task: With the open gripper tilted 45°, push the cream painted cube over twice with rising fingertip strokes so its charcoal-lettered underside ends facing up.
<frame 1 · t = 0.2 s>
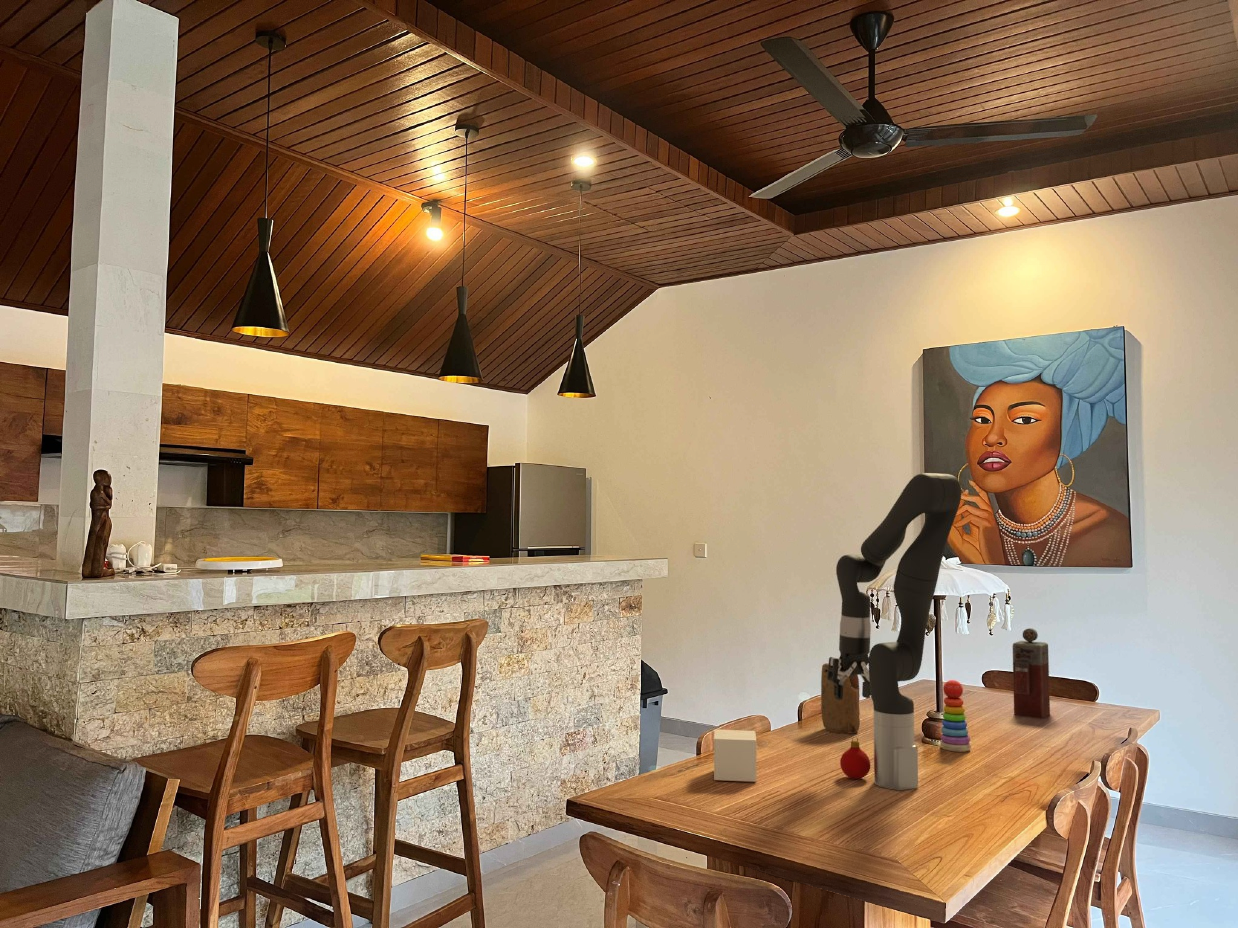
hand: (852, 698, 225), 18 cm above the table, tool pointing down, fingers open, 8 cm apart
christmas ornament: (855, 779, 216), on the table
block: (841, 731, 267), on the table
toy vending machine: (1031, 715, 293), on the table
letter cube: (735, 776, 217), on the table
stacking toy: (955, 749, 246), on the table
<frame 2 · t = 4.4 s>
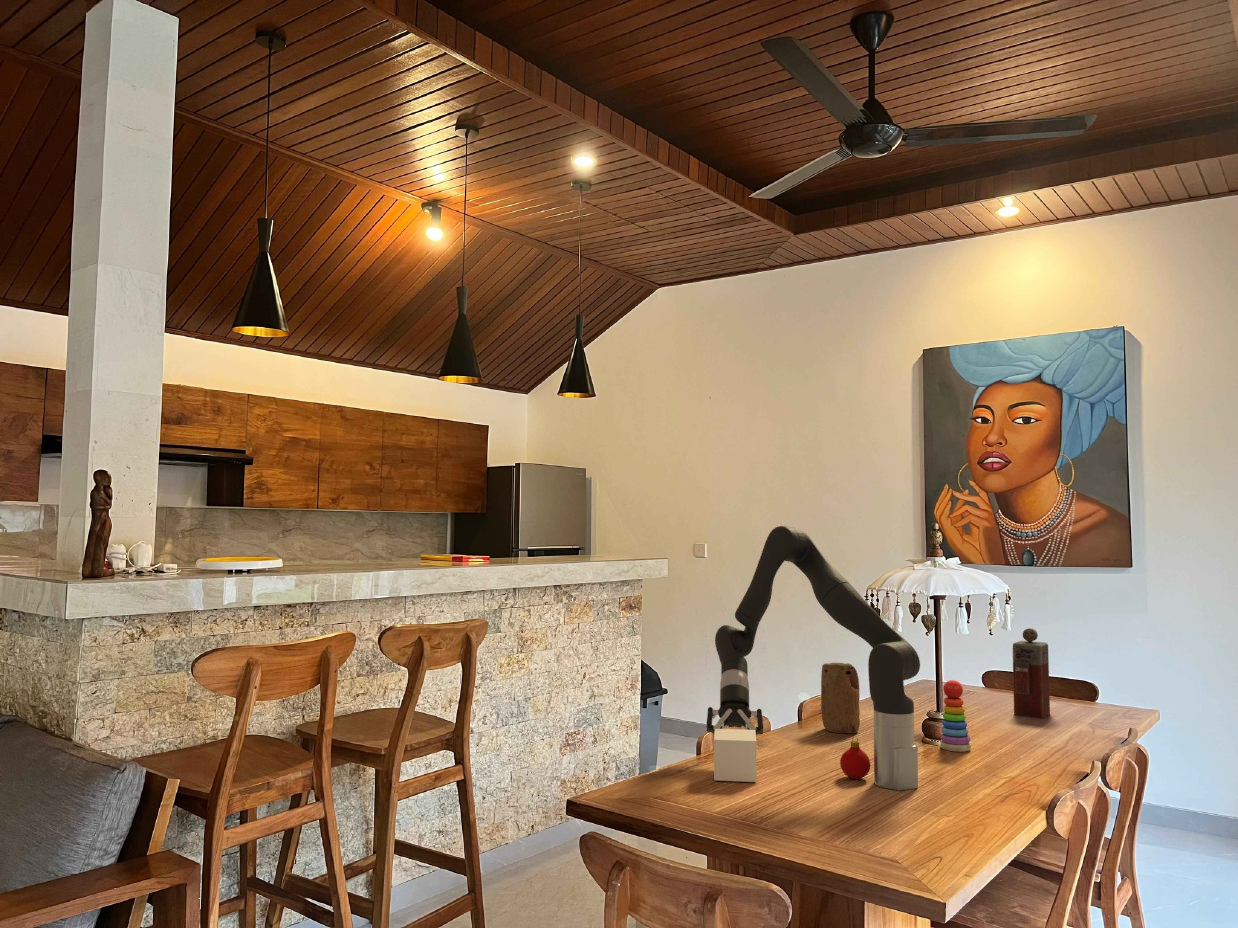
hand: (734, 746, 223), 6 cm above the table, tool tilted 45°
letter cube: (735, 776, 217), on the table, touching gripper
everything else where it was.
when the fingers open (8 cm above the table, at t = 4.9 s): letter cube stays where it is, point 1 cm above the table.
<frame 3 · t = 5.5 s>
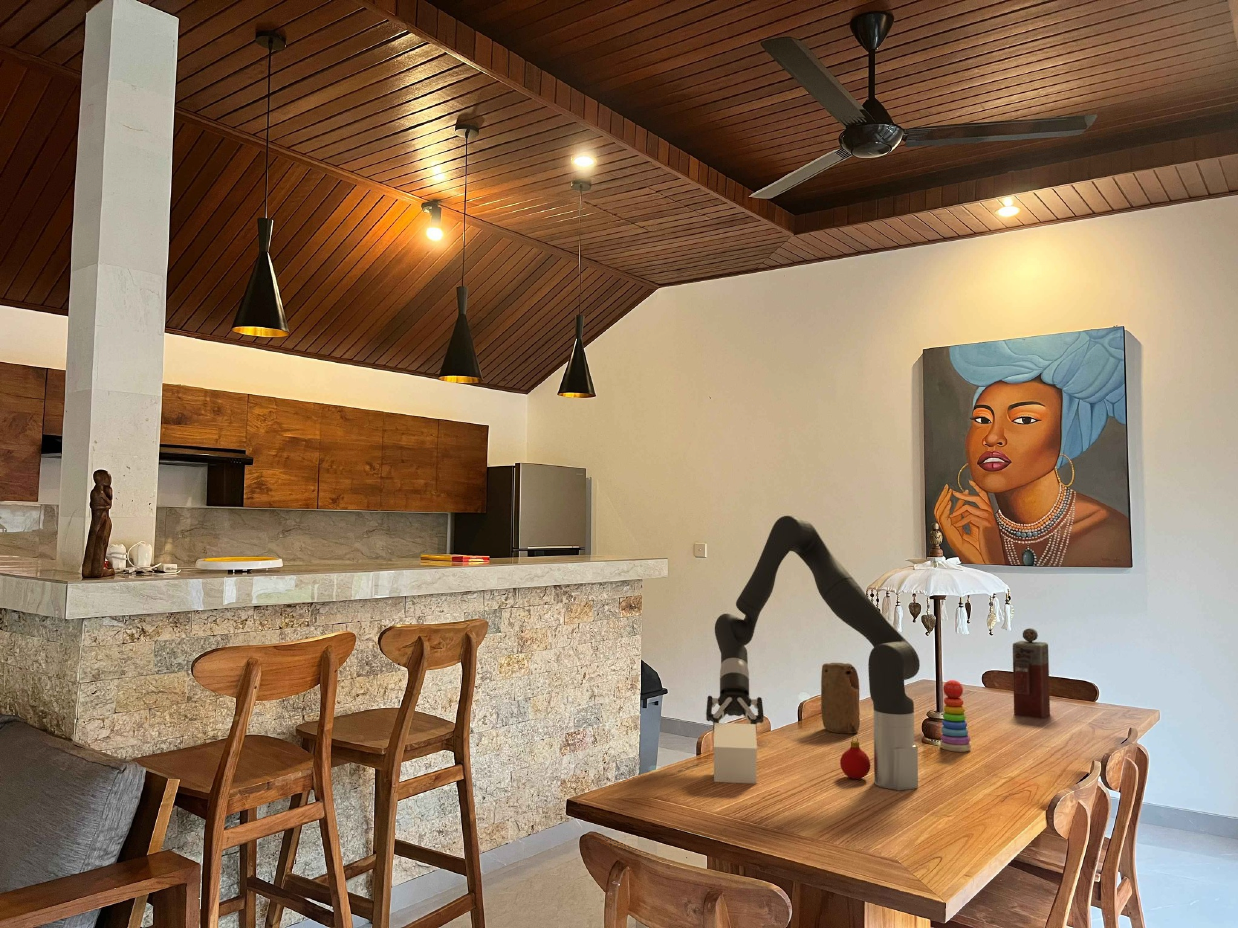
hand: (734, 734, 220), 9 cm above the table, tool tilted 45°, fingers open, 8 cm apart
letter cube: (735, 770, 217), point 1 cm above the table, tilted 21°, touching gripper
everything else where it was.
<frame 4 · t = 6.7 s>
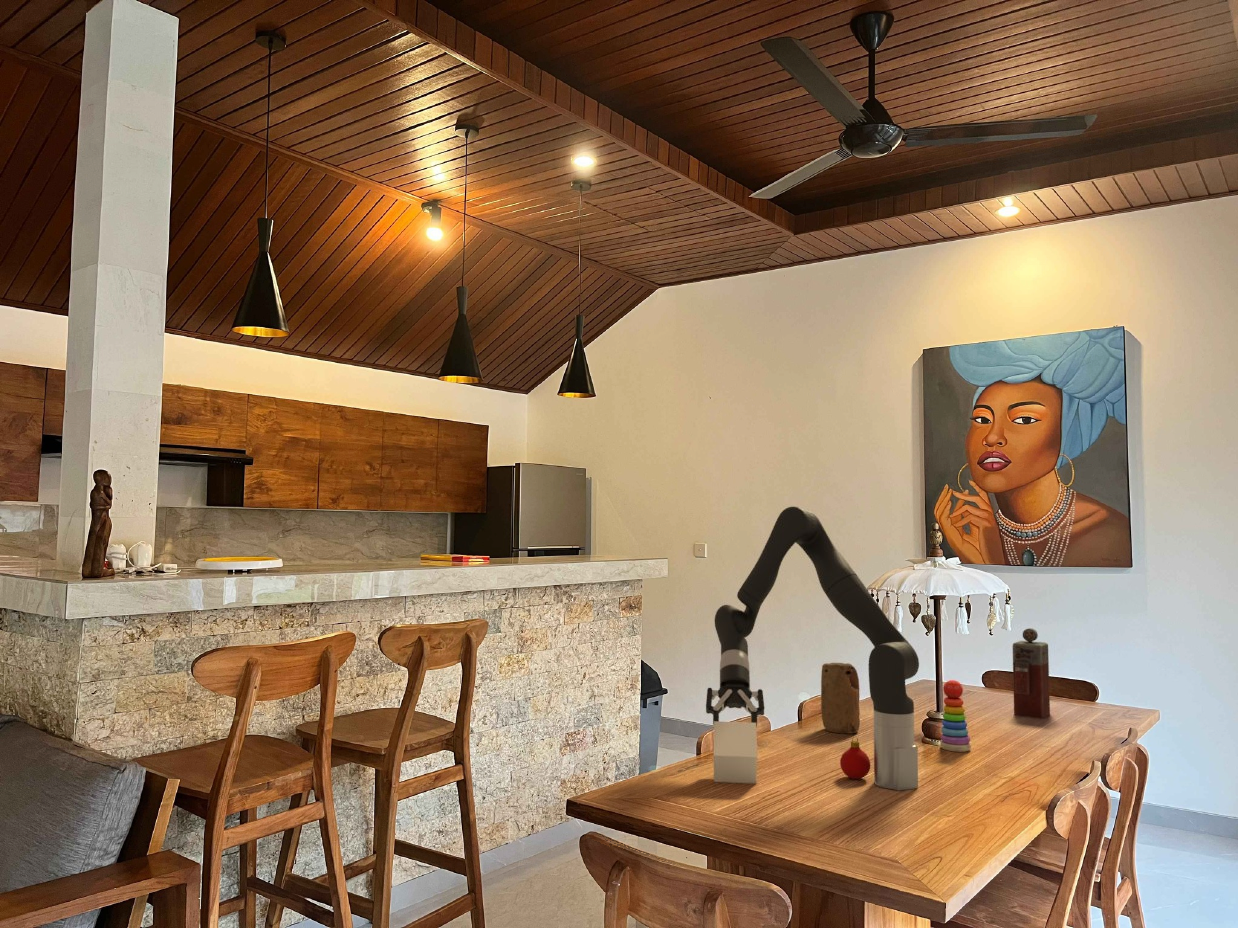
hand: (735, 727, 216), 12 cm above the table, tool tilted 45°
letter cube: (735, 766, 216), point 3 cm above the table, tilted 38°, touching gripper
everything else where it was.
when the fingers open (5 cm above the table, at t = 10.9 s): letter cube stays where it is, point 5 cm above the table.
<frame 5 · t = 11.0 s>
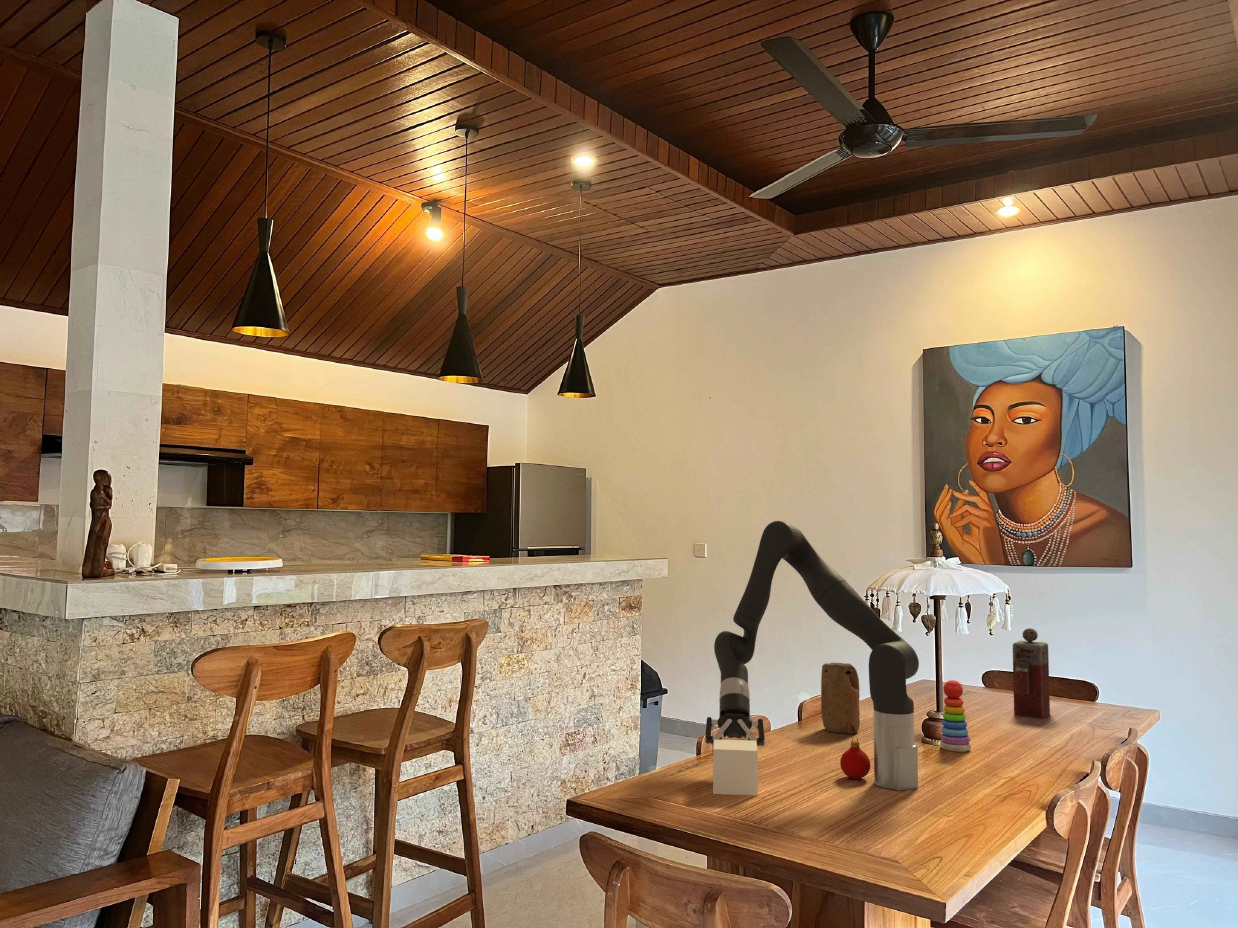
hand: (735, 758, 213), 5 cm above the table, tool tilted 45°, fingers open, 8 cm apart
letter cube: (735, 760, 213), point 5 cm above the table, tilted 90°, touching gripper
everything else where it was.
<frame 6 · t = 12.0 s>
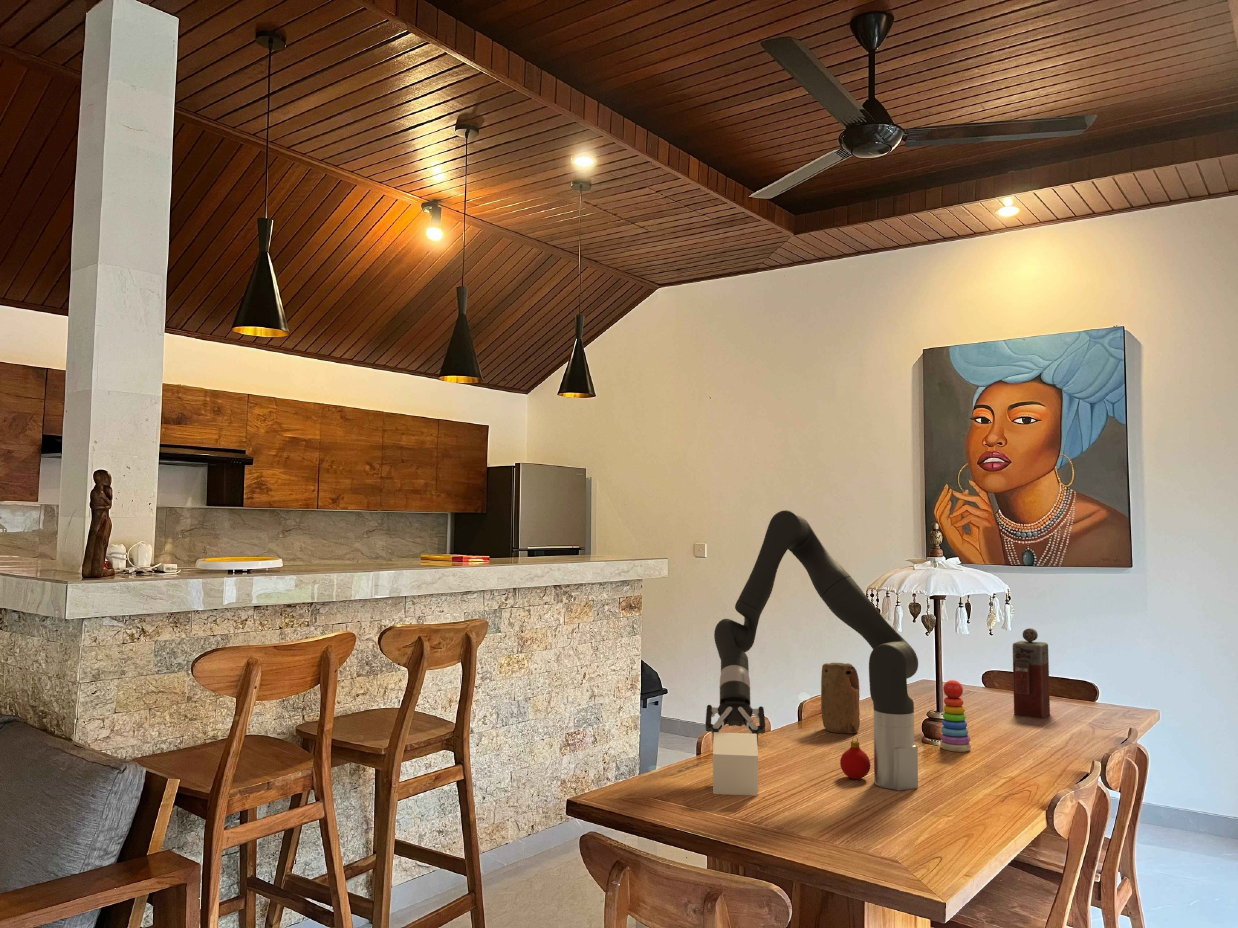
hand: (735, 746, 210), 9 cm above the table, tool tilted 45°, fingers closed on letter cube, 8 cm apart
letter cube: (735, 751, 211), point 8 cm above the table, tilted 107°, touching gripper
everything else where it was.
when the fingers open (12 cm above the table, at t = 13.4 s): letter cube moves 1 cm, point 10 cm above the table.
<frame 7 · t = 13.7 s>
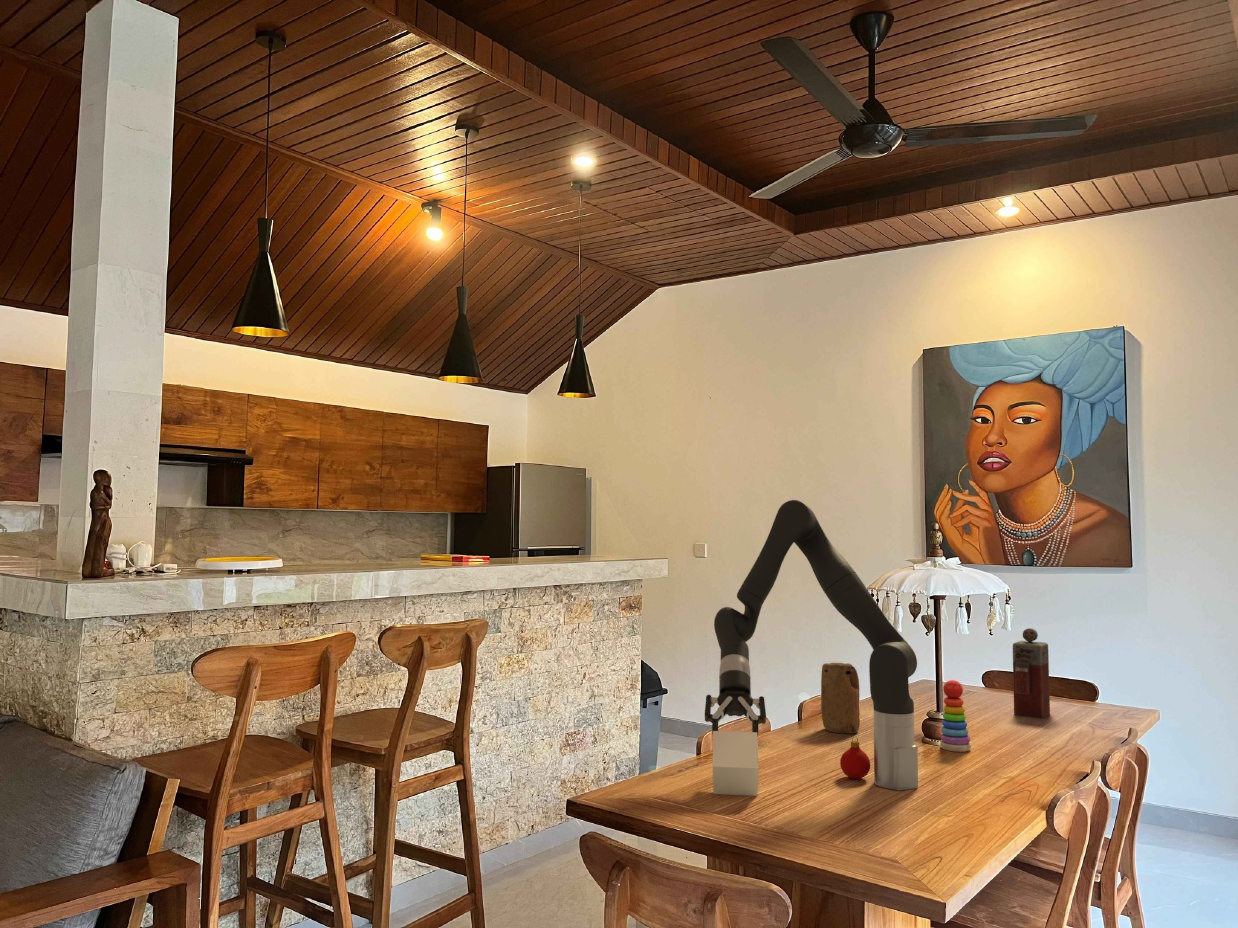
hand: (735, 736, 205), 12 cm above the table, tool tilted 45°, fingers open, 8 cm apart
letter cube: (735, 743, 208), point 10 cm above the table, tilted 129°
everything else where it was.
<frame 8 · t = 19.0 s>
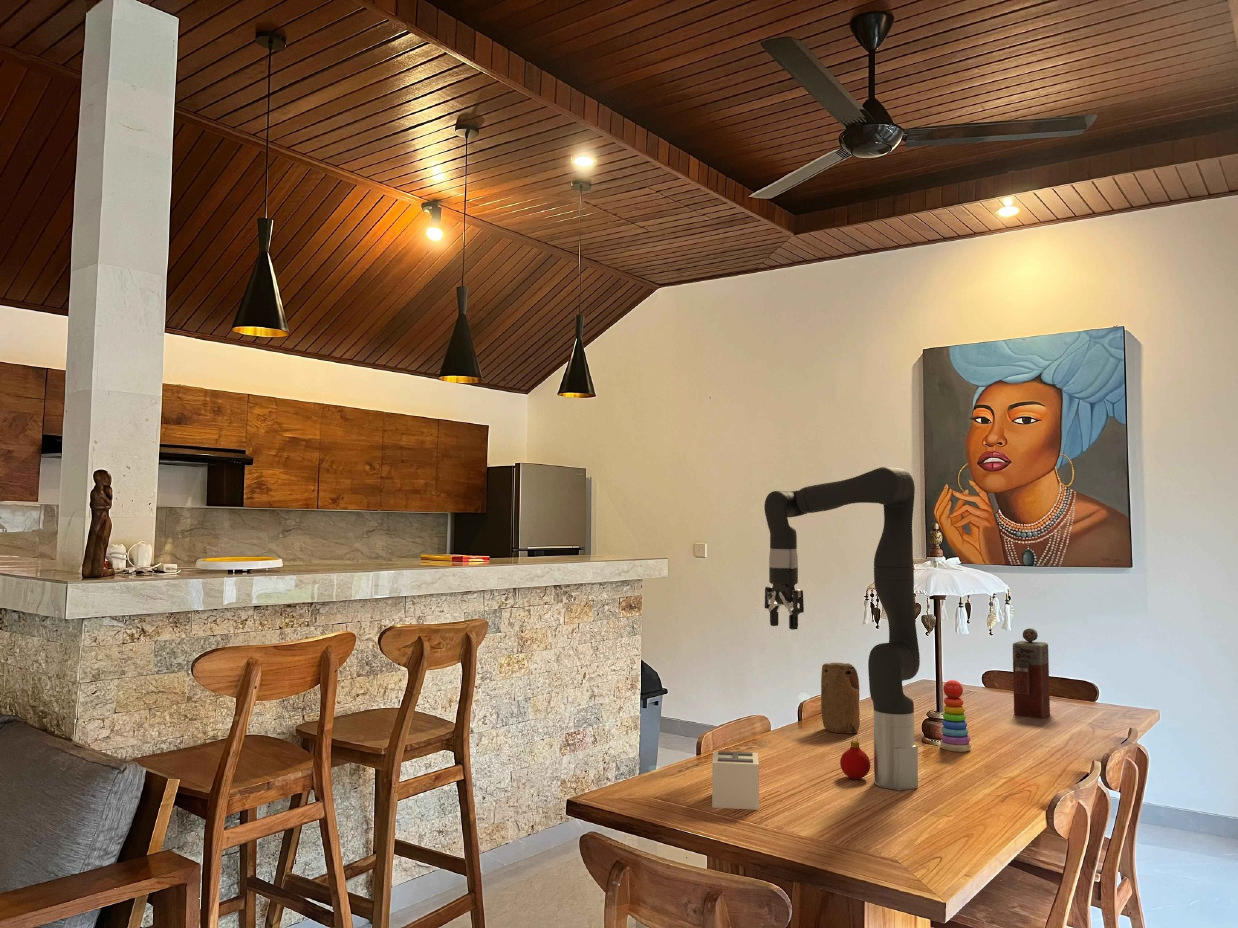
hand: (783, 627, 236), 34 cm above the table, tool pointing down, fingers open, 8 cm apart
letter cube: (735, 755, 198), point 10 cm above the table, tilted 180°
everything else where it was.
at the end: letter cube tilted 180°; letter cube point 9.9 cm above the table; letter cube moved 22.2 cm from its start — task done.
